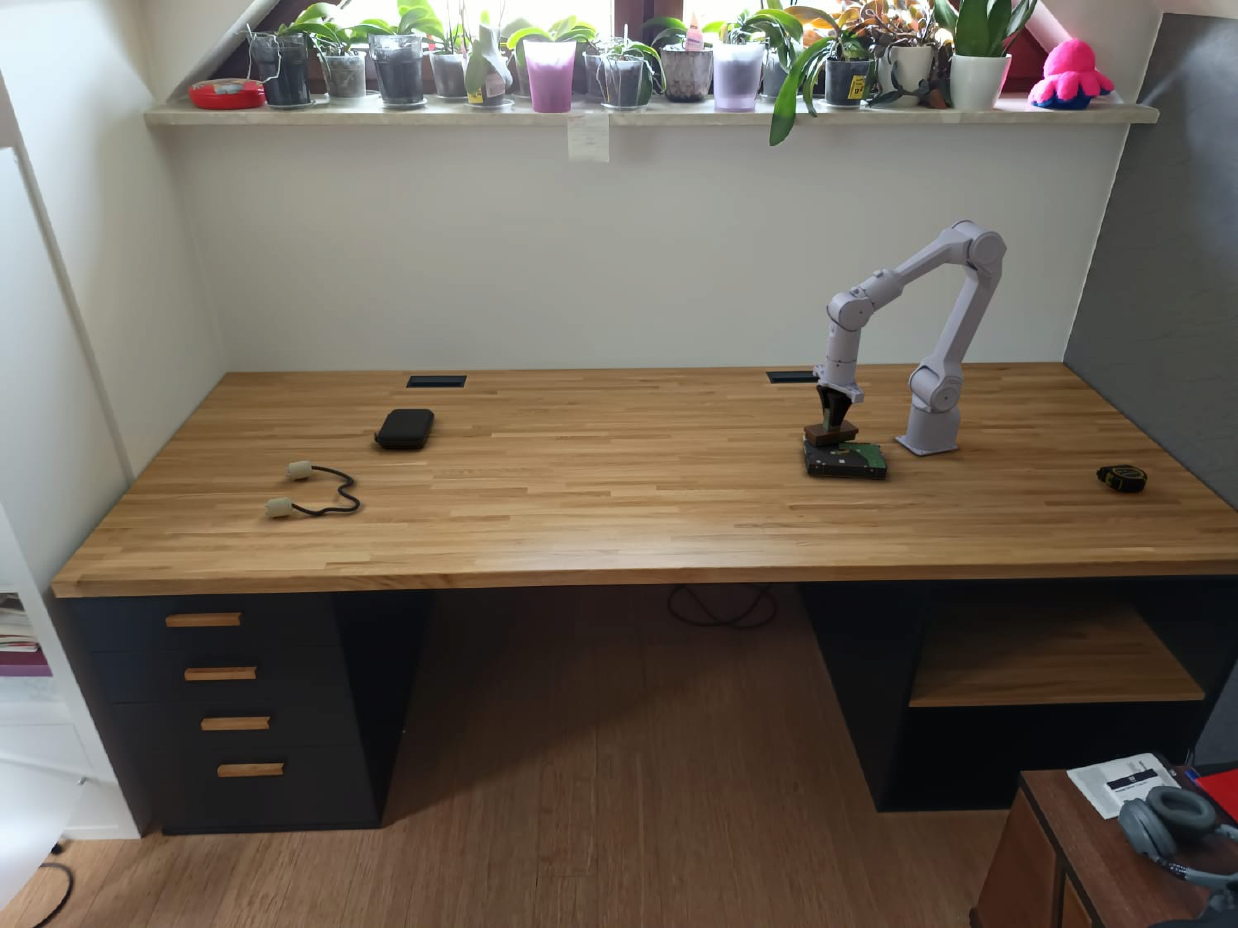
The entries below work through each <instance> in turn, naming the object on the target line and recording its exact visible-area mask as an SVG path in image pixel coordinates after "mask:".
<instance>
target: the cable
mask: <svg viewBox="0 0 1238 928" xmlns="http://www.w3.org/2000/svg"><path fill="white" fill-rule="evenodd" d="M314 470H315V471H320V472H325V473H330V474H333V475H336V476H338V477H341V478H344V479H345V480H347V481H348V482H346V483H344V484H341V485H340V486H338V487H337V493H338V494H339V495H340V496H342V497H343V498H345V499H347V500H350V501H351V502H353V503H355V505H353V506H351V507H332V506H331V507H325V508H322V509H321V510H310V509H307V508H304V507H302V506H300V505H299V504H298V505H297V504H295V503H294V501H293V499H291V497H289V496H285V497H279V498H272V499H271V498H270V499H269V500H268V501H267V504H265V505H264V508H267V511H264V515H265V516H269V517H270V518H276V517H277V518H278V517H284V516H291V515H292V513H293V512H294V510H297V511H299V512H301V513H304V514H306V515H311V516H321V515H323V514H325V513H327V512H328V513H329V512H331V513H332V512H335V513H350V512H356V510H358V509H359V507H360V506H361V502H360V500H359V499H358V498H356V497H355V496H352V495H350V494H348V493H346V492H345V491H344V489H346V488H348V487H350V486H352V485H353V484H354V479H353V477H351V476H350V475H348V474H346V473H344V472H342V471H339V470H336V469H334V468H329V467H324V466H317V465H312V463H311V462H310V461H309V460H308V459H307V460H301V461H295V462H290V463H288V467H287V468H285V471H287V473H288V474H286V475H285V476H286V478H288V479H289V478H291V479H292V480H293V481H294V480H299V479H304V478H311V476H312V475H313V471H314Z"/></svg>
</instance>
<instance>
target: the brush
mask: <svg viewBox="0 0 1238 928" xmlns="http://www.w3.org/2000/svg"><path fill="white" fill-rule="evenodd" d="M859 431H860V428H859V427H857V426H855V424H853V423H851V421H849V420H847V419H843V422H842V424H841V425H838V426H831V424H830V408H825V412H824V417H823V420H822V423H817V424H811V425H805V426H803V432H804V436H805V439H807V440H808V441H809V442H810V443H811V444H813V445H814V446H815V447H817V446H823V445H829V444H834V443H840V442H852V441H855V440H856V437H857V434H859Z"/></svg>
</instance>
